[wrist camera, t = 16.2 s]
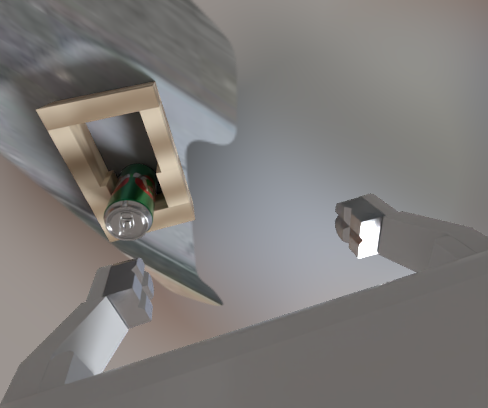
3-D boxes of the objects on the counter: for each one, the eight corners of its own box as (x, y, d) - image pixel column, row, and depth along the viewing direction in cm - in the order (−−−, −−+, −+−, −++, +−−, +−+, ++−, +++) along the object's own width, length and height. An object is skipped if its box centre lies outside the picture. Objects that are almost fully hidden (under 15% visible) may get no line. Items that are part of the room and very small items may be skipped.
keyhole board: (54, 101, 31) (35, 109, 27) (155, 81, 33) (152, 86, 28) (116, 222, 41) (110, 242, 37) (192, 202, 42) (195, 219, 38)
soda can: (123, 194, 39) (105, 245, 29) (118, 162, 37) (96, 205, 26) (158, 193, 40) (154, 242, 30) (156, 162, 38) (150, 203, 28)
